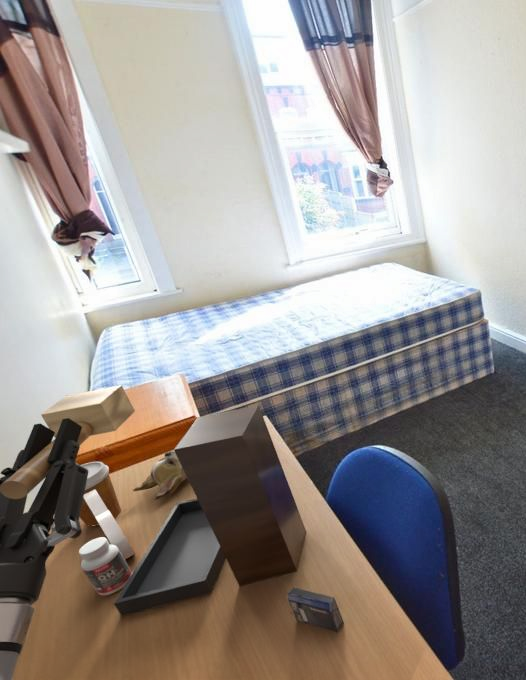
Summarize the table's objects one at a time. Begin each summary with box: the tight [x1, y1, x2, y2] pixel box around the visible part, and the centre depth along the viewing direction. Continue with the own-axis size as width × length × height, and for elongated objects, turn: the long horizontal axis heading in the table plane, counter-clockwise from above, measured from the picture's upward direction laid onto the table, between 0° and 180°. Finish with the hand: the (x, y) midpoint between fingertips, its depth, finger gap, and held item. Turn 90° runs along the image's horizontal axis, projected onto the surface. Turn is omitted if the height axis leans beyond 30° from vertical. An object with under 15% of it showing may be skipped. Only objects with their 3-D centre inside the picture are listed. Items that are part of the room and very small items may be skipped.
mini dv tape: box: [286, 587, 345, 633], centre depth 75 cm, size 8×2×6 cm, turn 72°
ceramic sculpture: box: [132, 450, 188, 500], centre depth 114 cm, size 11×9×15 cm
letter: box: [83, 490, 135, 560], centre depth 96 cm, size 22×2×10 cm, turn 51°
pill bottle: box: [78, 536, 133, 596], centre depth 86 cm, size 5×5×10 cm
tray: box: [113, 497, 227, 617], centre depth 93 cm, size 26×15×3 cm, turn 13°
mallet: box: [0, 384, 136, 499], centre depth 67 cm, size 20×8×5 cm, turn 13°
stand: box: [173, 404, 307, 587], centre depth 84 cm, size 10×10×30 cm
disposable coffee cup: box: [79, 461, 122, 527], centre depth 104 cm, size 10×10×12 cm
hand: (58, 425), depth 67 cm, fingers closed on mallet, 3 cm apart
